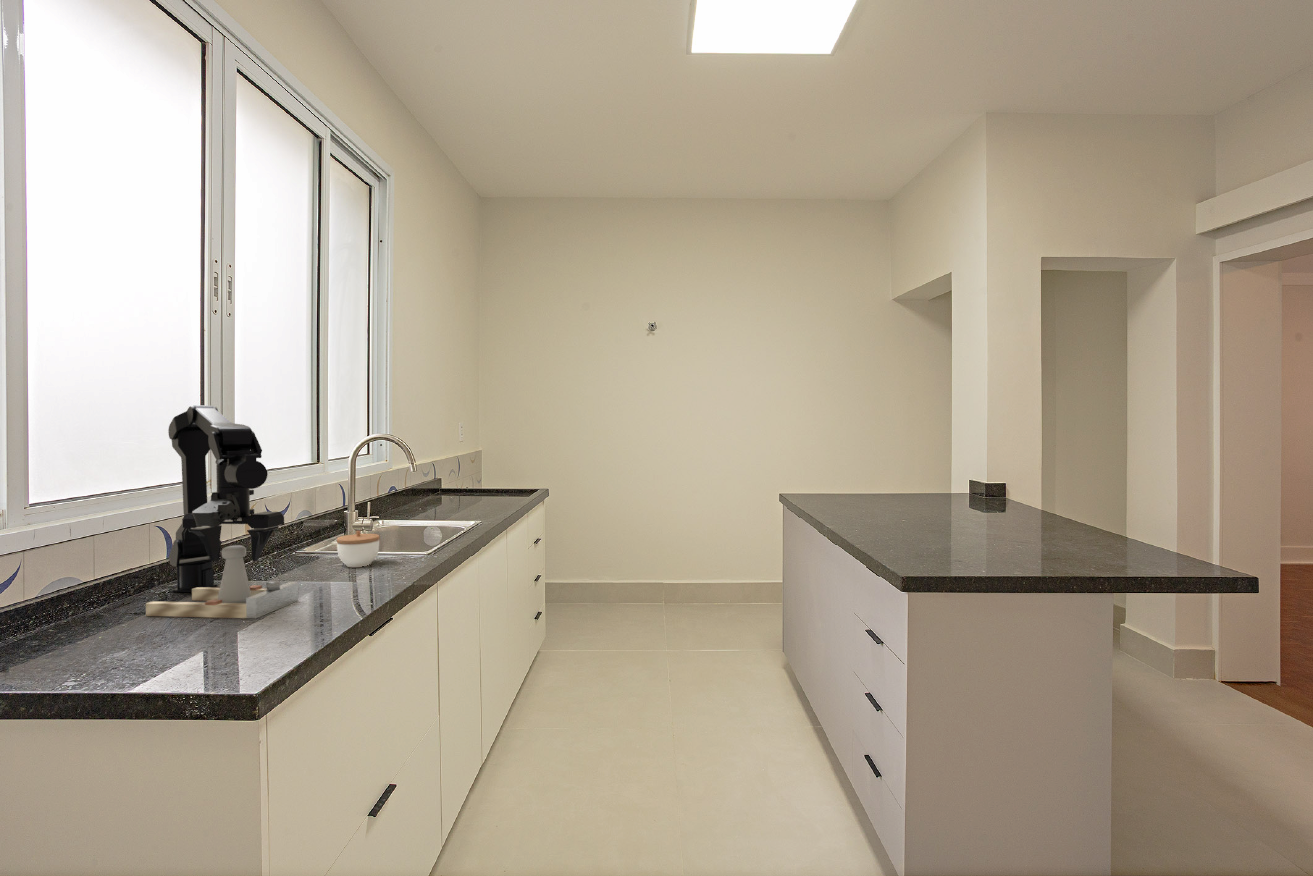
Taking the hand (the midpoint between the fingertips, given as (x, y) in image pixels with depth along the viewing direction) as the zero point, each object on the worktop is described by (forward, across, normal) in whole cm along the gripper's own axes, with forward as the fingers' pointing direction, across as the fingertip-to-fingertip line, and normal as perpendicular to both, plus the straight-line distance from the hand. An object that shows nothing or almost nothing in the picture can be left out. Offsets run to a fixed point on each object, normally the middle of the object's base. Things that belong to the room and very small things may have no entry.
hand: (234, 560), depth 134 cm
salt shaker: (+10, 0, 0) cm, 10 cm away
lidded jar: (+10, +3, +42) cm, 43 cm away
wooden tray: (+10, -3, 0) cm, 10 cm away
